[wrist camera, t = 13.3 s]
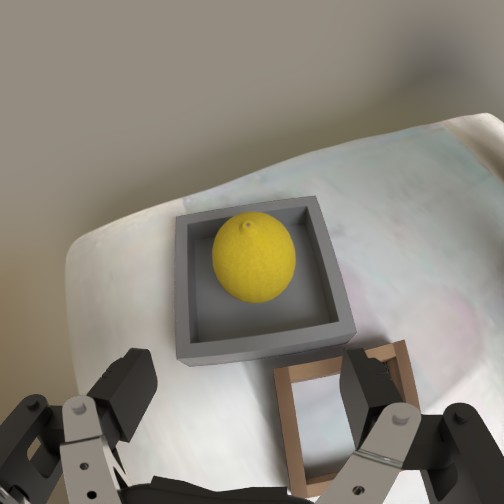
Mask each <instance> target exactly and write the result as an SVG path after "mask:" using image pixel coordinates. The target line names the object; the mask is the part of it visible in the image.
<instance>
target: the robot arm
mask: <svg viewBox="0 0 504 504" xmlns="http://www.w3.org/2000/svg"><path fill="white" fill-rule="evenodd" d="M156 390H157V376H156V373H155V369H154V365H153V361H152V358H151V354H150V351H149V350H148V349H138V348H131V349H130V350H129V351H128V352H127V353H126V355H125V356H124V357H123V358H119V359H118V360H116V361H115V362H113V363H112V364H111V365H110V366H109V367H108V369H107V370H106V372H104V374H103V375H102V378H101V377H100V379H99V380H98V381H97V382H96V384H95V385H94V386H93V387H92V389H91V390H90V391H89V392H88V394H87V395H86V396H83V395H80V396H75V397H72V398H70V399H69V400H67V401H66V402H65V404H64V405H63V406H50V405H49V404H48V402H47V400H46V398H45V397H44V396H42V395H39V394H34V395H30V396H27V397H26V398H24V399H23V400H22V401H21V402H20V403H19V405H18V406H17V407H16V408H15V409H14V410H13V411H12V413H11V414H10V415H9V416H8V417H7V418H6V420H5V421H4V422H3V423H2V424H1V426H0V504H46V503H47V501H48V499H49V497H50V495H51V493H52V491H53V489H54V487H55V486H56V484H57V482H58V480H59V478H60V476H61V474H62V473H63V474H64V480H65V485H66V490H67V495H68V499H69V503H70V504H382V503H383V501H384V500H385V498H386V496H387V494H388V493H389V491H390V489H391V487H392V485H393V483H394V481H395V480H396V478H397V476H398V474H399V472H400V470H420V472H421V476H422V479H423V482H424V485H425V489H426V492H427V495H428V499H429V502H430V504H504V456H503V454H502V453H501V451H500V449H499V447H498V445H497V444H496V442H495V440H494V438H493V437H492V435H491V433H490V432H489V430H488V428H487V427H486V425H485V423H484V422H483V420H482V418H481V417H480V415H479V414H478V412H477V411H476V409H475V408H474V407H472V406H471V405H469V404H466V403H454V404H451V405H449V406H448V407H447V408H446V409H445V411H444V413H443V415H423V414H421V413H420V411H419V410H418V409H417V408H416V407H414V406H413V405H411V404H408V403H404V401H403V399H402V397H401V395H400V393H399V391H398V389H397V387H396V386H395V384H394V382H393V380H392V378H391V376H390V374H389V373H388V371H387V369H386V367H385V365H384V364H383V363H382V362H381V361H379V360H378V359H377V358H375V357H374V358H368V357H367V355H366V353H365V351H364V349H363V347H357V348H347V349H344V350H343V356H342V364H341V372H340V393H341V397H342V400H343V404H344V407H345V411H346V414H347V418H348V422H349V425H350V429H351V433H352V437H353V440H354V444H355V448H356V450H355V451H354V452H353V454H352V455H351V456H350V458H349V459H348V461H347V462H346V463H345V465H344V466H343V468H342V469H341V470H340V472H339V473H338V474H337V476H336V477H335V478H334V480H333V481H332V482H331V484H330V485H329V486H328V487H327V489H326V490H325V491H324V492H323V494H322V495H321V496H320V497H319V498H318V500H317V501H316V502H315V503H314V502H312V501H310V500H307V499H304V498H301V497H297V496H292V495H287V487H249V488H243V489H236V490H229V491H220V492H216V491H211V490H208V489H205V488H202V487H199V486H196V485H193V484H190V483H188V482H185V481H180V480H174V479H168V478H163V477H158V476H153V478H152V481H151V483H147V484H138V485H132V483H131V481H130V478H129V476H128V473H127V471H126V468H125V466H124V463H123V460H122V458H121V455H120V452H119V449H118V447H117V445H116V444H117V443H118V441H119V440H120V441H124V442H128V443H129V442H130V440H131V439H132V437H133V435H134V433H135V431H136V429H137V427H138V425H139V423H140V421H141V419H142V417H143V415H144V413H145V411H146V409H147V407H148V406H149V404H150V402H151V400H152V398H153V396H154V394H155V392H156ZM36 437H37V438H38V440H39V441H40V443H41V445H40V447H39V448H38V450H37V451H36V452H35V454H34V456H33V457H32V458H31V460H30V461H29V460H28V458H27V450H28V448H29V447H30V445H31V444H32V442H33V441H34V440H35V438H36Z"/></svg>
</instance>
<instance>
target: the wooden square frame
mask: <svg viewBox="0 0 504 504" xmlns="http://www.w3.org/2000/svg"><path fill="white" fill-rule="evenodd" d="M364 351H365V353H366V355H367V357H368V358H374V357H375V358H377V359H378V360H379V361H381V362H386V361H387V366H388V370H389V374H390V376H391V378H392V380H393V382H394V384H395V386H396V387H397V389H398V391H399V393H400V395H401V397H402V399H403V401H404V403H408V404H411V405H413V406H414V407H416V408H417V409H418V410H419V411H420V405H419V400H418V395H417V390H416V385H415V381H414V376H413V372H412V368H411V363H410V359H409V355H408V351H407V347H406V344H405V340H401V341H398V342H394V343H391V344H387V345H383V346H380V347H376V348H372V349H368V350H364ZM341 364H342V356H339V357H335V358H330V359H325V360H320V361H315V362H310V363H305V364H299V365H294V366H288V367H282V368H275V369H273V372H274V379H275V386H276V393H277V399H278V406H279V413H280V419H281V426H282V433H283V440H284V447H285V453H286V460H287V467H288V474H289V481H290V487H291V494H292V496H297V497H301V498H310V497H315V496H320V495H322V494H323V492H324V491H325V490H326V489H327V487H328V486H329V485H330V484H331V482H332V481H333V480H334V478H335V477H336V476H337V474H338V473H339V472H340V471H339V472H335V473H331V474H327V475H322V476H317V477H312V478H307V479H305V472H304V465H303V458H302V452H301V445H300V438H299V432H298V425H297V419H296V412H295V406H294V400H293V393H292V387H291V383H295V382H301V381H306V380H312V379H317V378H322V377H326V376H331V375H335V374H340V372H341ZM420 413H421V411H420ZM401 471H404V470H400V472H401Z"/></svg>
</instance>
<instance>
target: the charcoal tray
mask: <svg viewBox="0 0 504 504" xmlns="http://www.w3.org/2000/svg"><path fill="white" fill-rule="evenodd" d="M245 212H262V213H266V214H268V215H270V216H272V217H274V218H276V219H277V220H278V221H279V222H281V223H282V224H283V226H284V227H285V228H286V230H287V231H288V232H289V234H290V237H291V239H292V242H293V245H294V248H295V257H296V265H295V270H294V274H293V277H292V279H291V281H290V283H289V285H288V286H287V288H286V289H285V290H284V291H283V292H282V293H281V294H280V295H279V296H277V297H275V298H274V299H272V300H270V301H266V302H263V303H247V302H243V301H241V300H238V299H236V298H234V297H233V296H232V295H230V294H229V293H228V292H227V291H226V290H225V289H224V288H223V286H222V285H221V284H220V282H219V281H218V279H217V277H216V274H215V271H214V268H213V257H212V249H213V244H214V240H215V237H216V235H217V233H218V231H219V229H220V228H221V227H222V226H223V225H224V224H225V223H226V221H228V220H229V219H230V218H232V217H233V216H236V215H238V214H241V213H245ZM356 332H357V331H356V327H355V323H354V319H353V316H352V312H351V308H350V304H349V301H348V297H347V293H346V290H345V286H344V283H343V279H342V276H341V272H340V269H339V266H338V262H337V259H336V256H335V252H334V249H333V246H332V243H331V240H330V237H329V233H328V230H327V227H326V224H325V221H324V218H323V215H322V212H321V209H320V207H319V204H318V201H317V198H316V196H308V197H300V198H292V199H285V200H277V201H270V202H263V203H256V204H249V205H243V206H236V207H230V208H224V209H217V210H211V211H205V212H199V213H194V214H188V215H182V216H177V217H176V236H175V333H176V357H177V360H179V361H181V362H182V363H184V364H186V365H188V366H202V365H213V364H223V363H232V362H240V361H248V360H256V359H263V358H270V357H276V356H282V355H288V354H294V353H300V352H305V351H311V350H316V349H321V348H326V347H331V346H336V345H340V344H345V343H347V342H348V341H349V340H350V339H351V338H352V337H353V336H354V335H355V334H356Z"/></svg>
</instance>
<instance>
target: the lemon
mask: <svg viewBox="0 0 504 504" xmlns="http://www.w3.org/2000/svg"><path fill="white" fill-rule="evenodd" d="M212 257H213V268H214V271H215V274H216V277H217V279H218V281H219V282H220V284H221V285H222V286H223V288H224V289H225V290H226V291H227V292H228V293H229V294H230V295H232V296H233V297H234V298H236V299H238V300H241V301H243V302H247V303H263V302H266V301H270V300H272V299H274V298H275V297H277V296H279V295H280V294H281V293H282V292H283V291H284V290H285V289H286V288H287V286H288V285H289V283H290V281H291V279H292V277H293V274H294V270H295V265H296V257H295V248H294V245H293V242H292V239H291V237H290V234H289V232H288V231H287V230H286V228H285V227H284V226H283V224H282V223H281V222H279V221H278V220H277V219H276V218H274V217H272V216H270V215H268V214H266V213H262V212H245V213H241V214H238V215H236V216H233V217H232V218H230V219H229V220H228V221H226V223H225V224H224V225H223V226H222V227H221V228H220V229H219V231H218V233H217V235H216V237H215V240H214V244H213V249H212Z"/></svg>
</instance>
